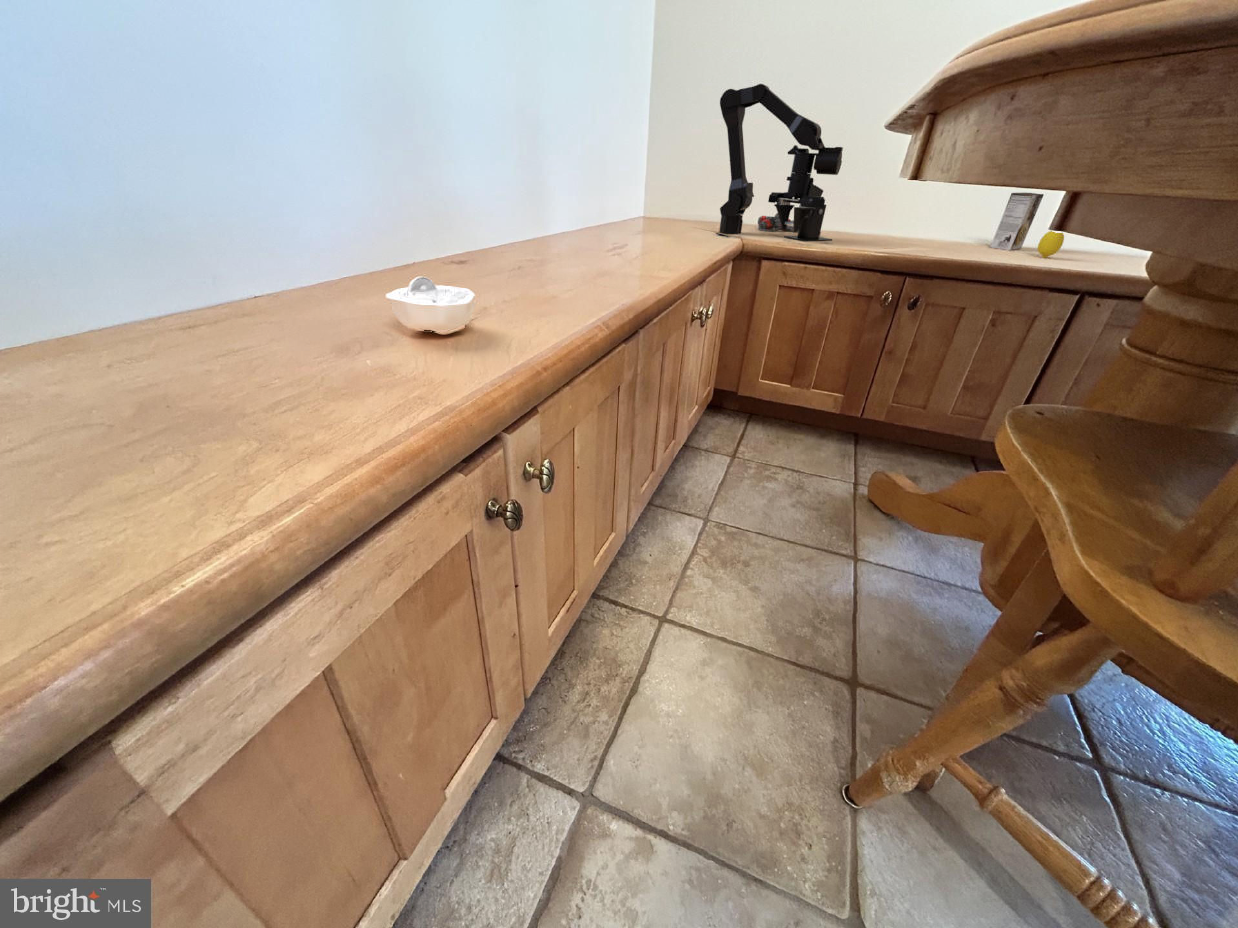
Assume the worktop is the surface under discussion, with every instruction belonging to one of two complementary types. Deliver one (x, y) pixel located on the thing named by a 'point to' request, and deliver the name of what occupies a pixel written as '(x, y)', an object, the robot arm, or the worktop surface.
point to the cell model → (432, 305)
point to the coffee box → (1016, 220)
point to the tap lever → (793, 220)
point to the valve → (772, 224)
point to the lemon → (1050, 243)
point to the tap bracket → (811, 227)
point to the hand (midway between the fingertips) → (789, 231)
